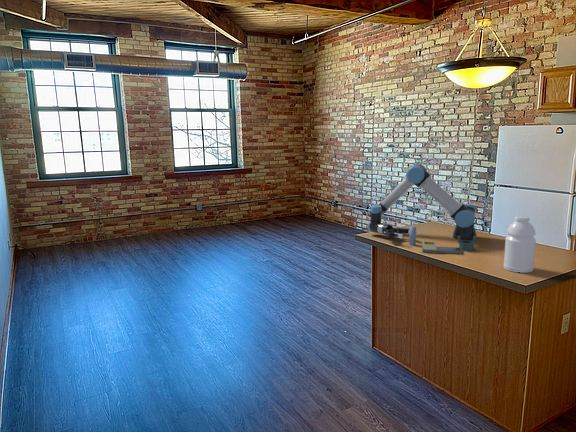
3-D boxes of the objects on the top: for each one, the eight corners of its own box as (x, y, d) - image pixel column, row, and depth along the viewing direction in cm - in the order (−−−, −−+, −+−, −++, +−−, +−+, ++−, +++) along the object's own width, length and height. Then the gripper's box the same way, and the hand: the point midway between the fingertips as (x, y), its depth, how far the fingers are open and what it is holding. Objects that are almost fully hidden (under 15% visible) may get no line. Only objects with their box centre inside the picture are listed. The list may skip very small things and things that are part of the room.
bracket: (476, 250, 259) (477, 235, 257) (467, 252, 254) (467, 237, 253) (464, 247, 266) (465, 233, 265) (454, 249, 262) (455, 235, 260)
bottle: (511, 273, 214) (515, 220, 209) (498, 265, 228) (501, 214, 223) (539, 272, 214) (543, 219, 209) (524, 264, 228) (528, 214, 223)
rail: (459, 250, 258) (460, 242, 257) (461, 254, 250) (461, 246, 249) (422, 248, 264) (422, 241, 263) (422, 252, 257) (422, 244, 256)
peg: (415, 244, 276) (416, 226, 274) (415, 245, 272) (416, 227, 270) (409, 244, 277) (409, 226, 275) (409, 245, 273) (409, 227, 271)
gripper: (398, 232, 300) (422, 237, 282) (372, 237, 287) (395, 243, 269) (398, 221, 299) (422, 226, 281) (372, 226, 286) (396, 232, 268)
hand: (409, 235), depth 275 cm, fingers open, 13 cm apart
